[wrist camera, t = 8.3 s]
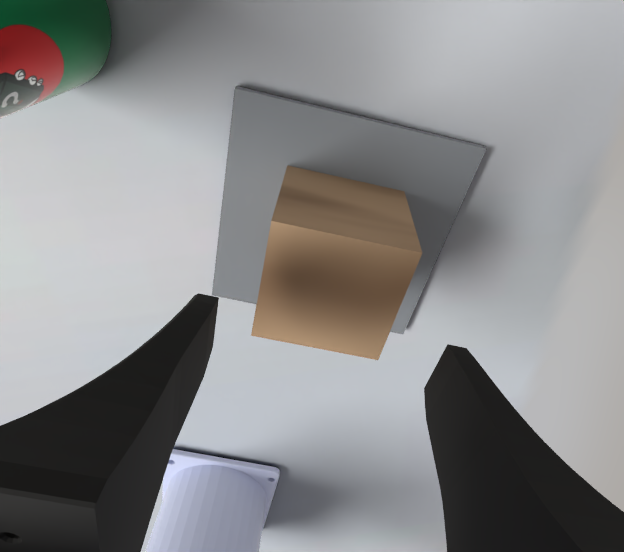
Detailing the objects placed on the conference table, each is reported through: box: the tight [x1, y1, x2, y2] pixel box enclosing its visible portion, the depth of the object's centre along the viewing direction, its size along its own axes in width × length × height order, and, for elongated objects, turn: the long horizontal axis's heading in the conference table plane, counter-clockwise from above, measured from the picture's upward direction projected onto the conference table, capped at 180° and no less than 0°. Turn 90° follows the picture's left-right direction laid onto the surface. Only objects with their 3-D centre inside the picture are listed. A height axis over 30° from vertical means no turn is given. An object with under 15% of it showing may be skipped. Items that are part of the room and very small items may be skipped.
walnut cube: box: [251, 165, 422, 360], centre depth 18 cm, size 5×5×5 cm
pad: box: [212, 86, 486, 334], centre depth 20 cm, size 10×10×1 cm
